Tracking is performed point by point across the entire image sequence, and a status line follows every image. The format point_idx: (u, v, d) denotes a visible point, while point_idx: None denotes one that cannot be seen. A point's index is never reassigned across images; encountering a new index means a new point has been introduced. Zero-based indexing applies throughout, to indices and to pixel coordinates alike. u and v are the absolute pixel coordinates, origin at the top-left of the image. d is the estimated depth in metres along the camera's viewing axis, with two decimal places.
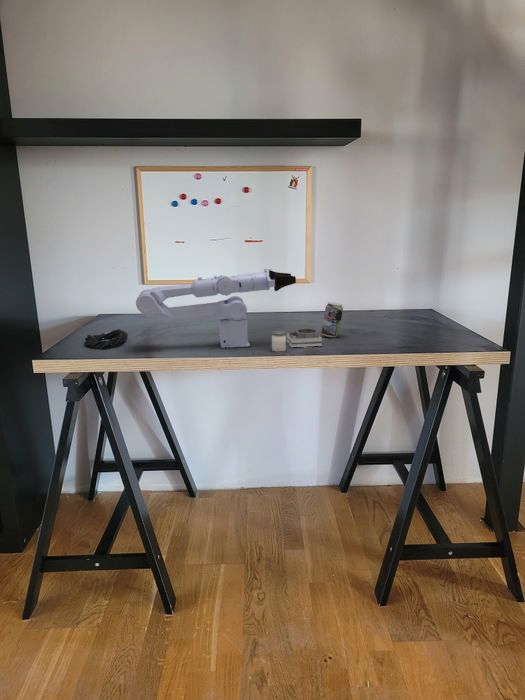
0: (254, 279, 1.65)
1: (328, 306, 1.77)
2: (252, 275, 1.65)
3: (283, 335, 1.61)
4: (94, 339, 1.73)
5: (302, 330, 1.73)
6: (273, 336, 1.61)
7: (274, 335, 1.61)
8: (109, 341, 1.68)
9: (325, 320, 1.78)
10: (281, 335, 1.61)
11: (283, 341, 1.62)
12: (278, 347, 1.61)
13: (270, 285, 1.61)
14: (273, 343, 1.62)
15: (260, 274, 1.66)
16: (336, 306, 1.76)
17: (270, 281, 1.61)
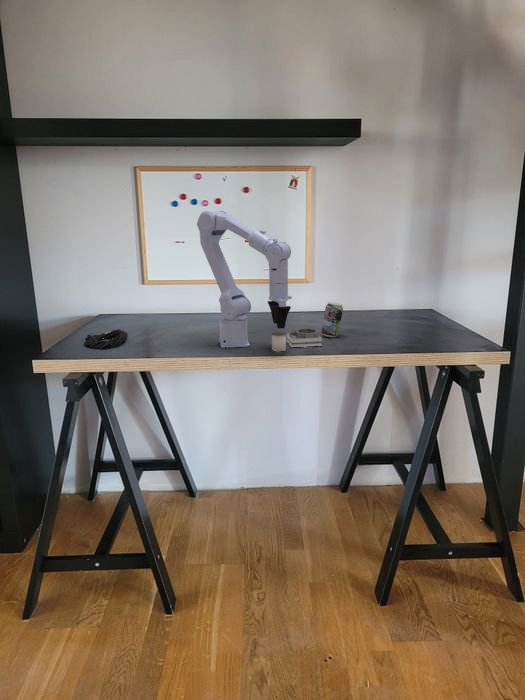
0: (284, 285, 1.56)
1: (328, 306, 1.77)
2: (287, 283, 1.57)
3: (283, 335, 1.61)
4: (94, 339, 1.73)
5: (302, 330, 1.73)
6: (273, 336, 1.61)
7: (274, 335, 1.61)
8: (109, 341, 1.68)
9: (325, 320, 1.78)
10: (281, 335, 1.61)
11: (283, 341, 1.62)
12: (278, 347, 1.61)
13: (281, 302, 1.53)
14: (273, 343, 1.62)
15: (287, 291, 1.58)
16: (336, 306, 1.76)
17: (285, 302, 1.53)
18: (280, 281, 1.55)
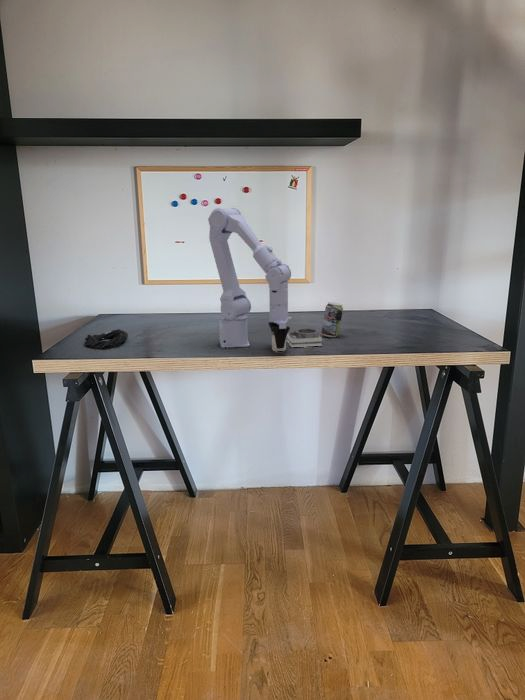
0: (284, 306, 1.58)
1: (328, 306, 1.77)
2: (287, 304, 1.59)
3: None
4: (94, 339, 1.73)
5: (302, 330, 1.73)
6: (273, 336, 1.61)
7: None
8: (109, 341, 1.68)
9: (325, 320, 1.78)
10: None
11: None
12: None
13: (281, 324, 1.54)
14: (273, 343, 1.62)
15: (287, 313, 1.60)
16: (336, 306, 1.76)
17: (285, 324, 1.55)
18: (280, 303, 1.57)
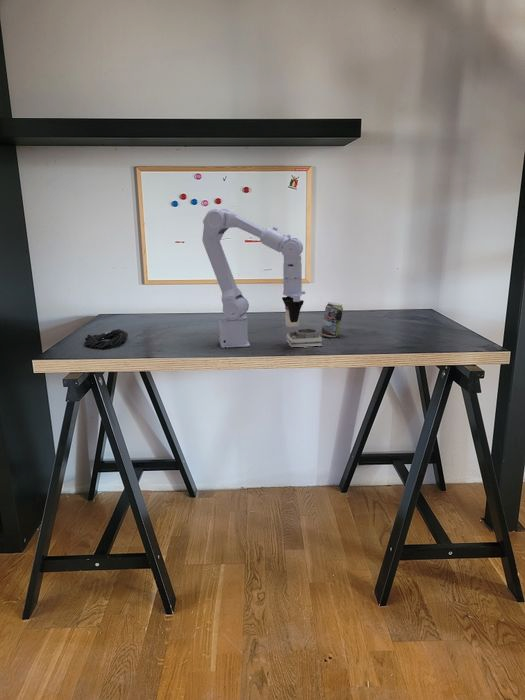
0: (297, 280, 1.59)
1: (328, 306, 1.77)
2: (301, 278, 1.60)
3: None
4: (94, 339, 1.73)
5: (302, 330, 1.73)
6: (287, 311, 1.63)
7: None
8: (109, 341, 1.68)
9: (325, 320, 1.78)
10: None
11: None
12: None
13: (295, 297, 1.56)
14: (287, 318, 1.63)
15: (301, 286, 1.61)
16: (336, 306, 1.76)
17: (299, 297, 1.56)
18: (297, 276, 1.59)
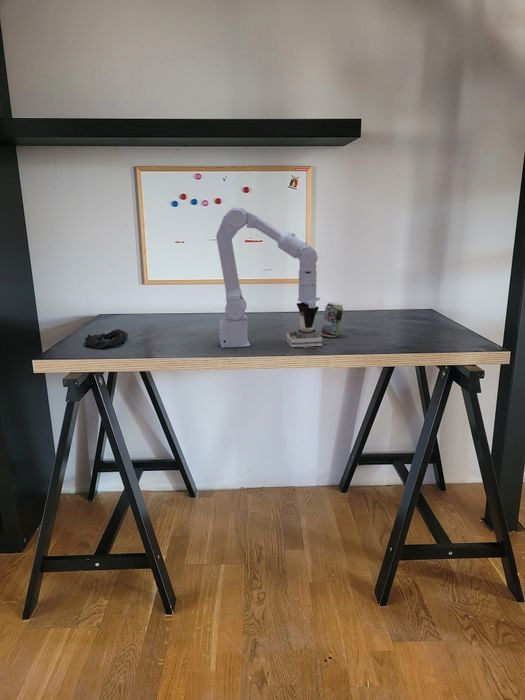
0: (313, 287, 1.64)
1: (328, 306, 1.77)
2: (315, 285, 1.65)
3: None
4: (94, 339, 1.73)
5: None
6: (302, 316, 1.67)
7: None
8: (109, 341, 1.68)
9: (325, 320, 1.78)
10: None
11: None
12: None
13: (310, 303, 1.60)
14: (302, 323, 1.68)
15: (315, 293, 1.66)
16: (336, 306, 1.76)
17: (314, 303, 1.60)
18: (313, 283, 1.64)
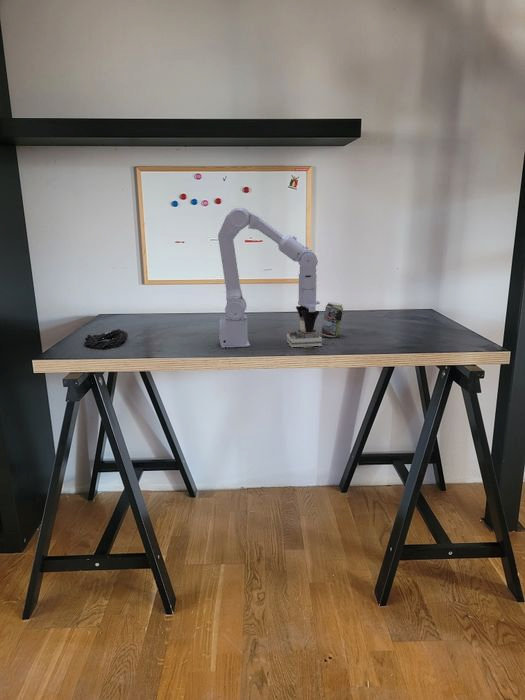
0: (312, 291, 1.64)
1: (328, 306, 1.77)
2: (315, 289, 1.65)
3: None
4: (94, 339, 1.73)
5: None
6: (302, 321, 1.68)
7: (303, 320, 1.67)
8: (109, 341, 1.68)
9: (325, 320, 1.78)
10: None
11: None
12: (307, 332, 1.68)
13: (310, 307, 1.60)
14: (302, 328, 1.68)
15: (315, 297, 1.66)
16: (336, 306, 1.76)
17: (314, 307, 1.61)
18: (313, 287, 1.64)
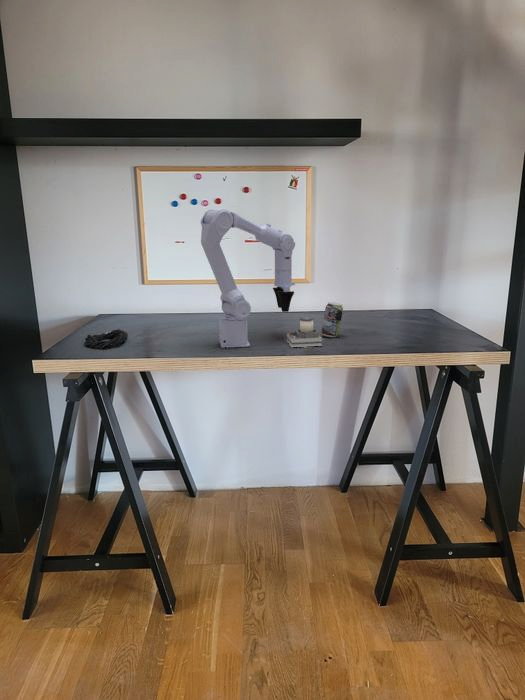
0: (288, 272, 1.73)
1: (328, 306, 1.77)
2: (290, 270, 1.74)
3: (311, 320, 1.67)
4: (94, 339, 1.73)
5: None
6: (301, 321, 1.68)
7: (303, 320, 1.67)
8: (109, 341, 1.68)
9: (325, 320, 1.78)
10: (309, 320, 1.67)
11: (311, 326, 1.68)
12: (307, 332, 1.68)
13: (285, 287, 1.69)
14: (301, 328, 1.68)
15: (291, 278, 1.74)
16: (336, 306, 1.76)
17: (289, 287, 1.69)
18: (291, 268, 1.74)
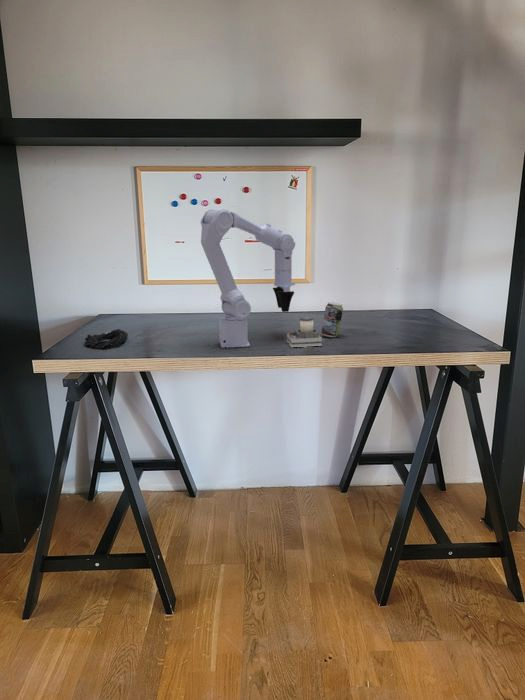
0: (288, 272, 1.73)
1: (328, 306, 1.77)
2: (290, 270, 1.74)
3: (311, 320, 1.67)
4: (94, 339, 1.73)
5: None
6: (301, 321, 1.68)
7: (302, 320, 1.67)
8: (109, 341, 1.68)
9: (325, 320, 1.78)
10: (309, 320, 1.67)
11: (311, 326, 1.68)
12: (307, 331, 1.68)
13: (285, 287, 1.69)
14: (301, 328, 1.68)
15: (291, 278, 1.74)
16: (336, 306, 1.76)
17: (289, 287, 1.69)
18: (291, 268, 1.74)
